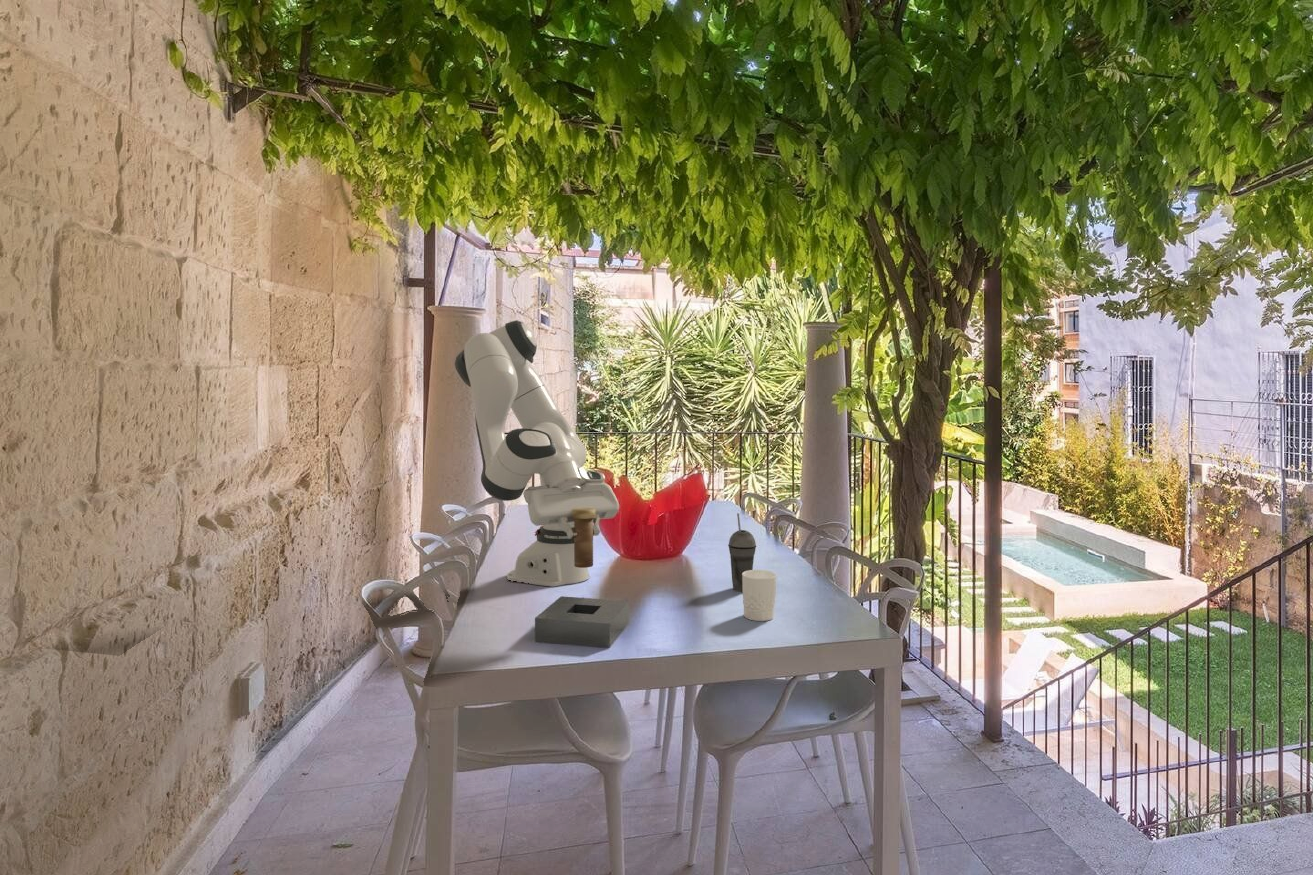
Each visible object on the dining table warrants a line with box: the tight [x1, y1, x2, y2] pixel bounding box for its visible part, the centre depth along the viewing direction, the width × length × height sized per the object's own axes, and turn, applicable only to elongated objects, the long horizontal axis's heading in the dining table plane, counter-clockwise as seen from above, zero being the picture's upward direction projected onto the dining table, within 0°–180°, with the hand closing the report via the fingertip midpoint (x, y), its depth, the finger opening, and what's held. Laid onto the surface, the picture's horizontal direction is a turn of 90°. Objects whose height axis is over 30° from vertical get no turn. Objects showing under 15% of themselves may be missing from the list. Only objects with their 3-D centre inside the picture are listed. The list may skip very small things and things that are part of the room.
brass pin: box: [572, 508, 595, 569], centre depth 155 cm, size 5×5×12 cm
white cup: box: [742, 569, 778, 622], centre depth 167 cm, size 8×8×10 cm
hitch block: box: [534, 596, 630, 649], centre depth 156 cm, size 16×16×5 cm
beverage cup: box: [727, 513, 757, 593], centre depth 189 cm, size 7×7×20 cm
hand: (584, 535), depth 154 cm, fingers closed on brass pin, 4 cm apart
